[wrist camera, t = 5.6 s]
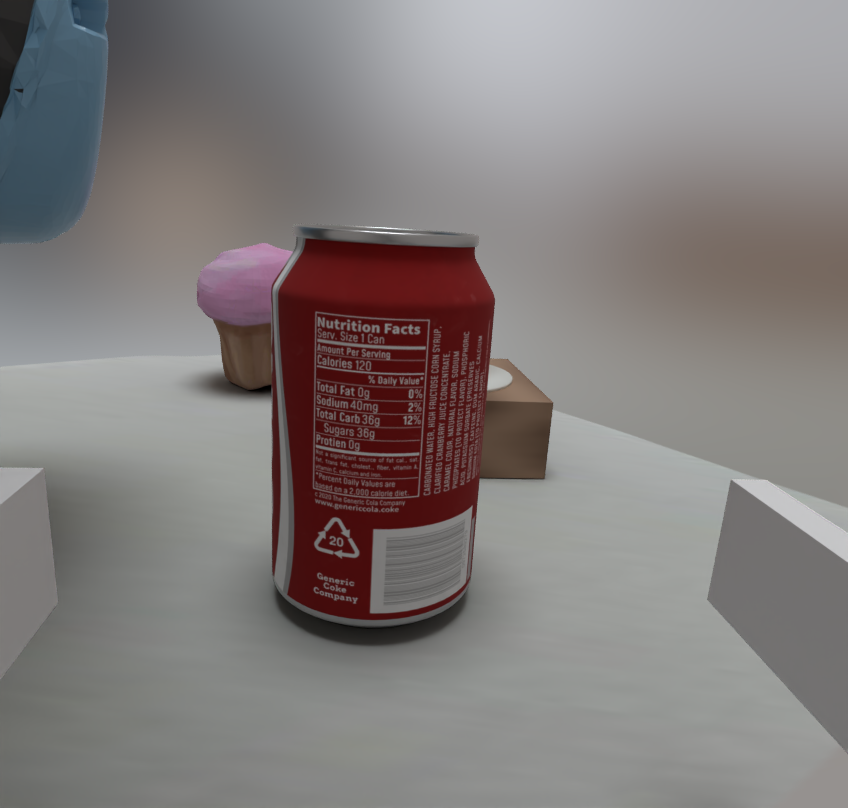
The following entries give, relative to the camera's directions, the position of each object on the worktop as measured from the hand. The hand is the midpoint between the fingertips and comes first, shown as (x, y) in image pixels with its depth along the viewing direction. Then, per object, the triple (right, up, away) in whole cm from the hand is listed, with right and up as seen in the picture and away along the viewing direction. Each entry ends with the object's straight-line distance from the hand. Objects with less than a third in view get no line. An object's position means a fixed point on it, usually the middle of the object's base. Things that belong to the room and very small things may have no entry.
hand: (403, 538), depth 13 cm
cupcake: (-11, +4, +35) cm, 37 cm away
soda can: (-1, -4, +10) cm, 11 cm away
